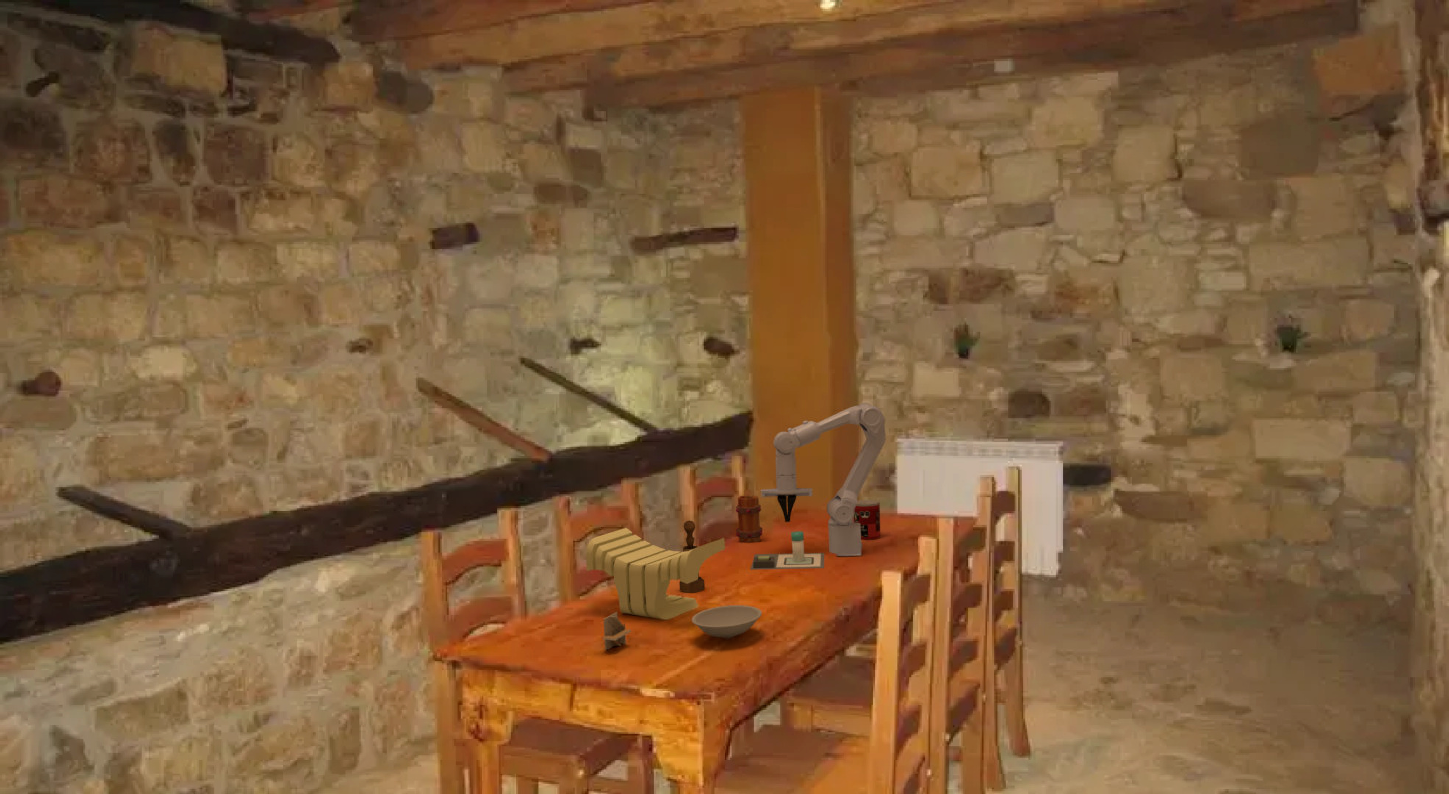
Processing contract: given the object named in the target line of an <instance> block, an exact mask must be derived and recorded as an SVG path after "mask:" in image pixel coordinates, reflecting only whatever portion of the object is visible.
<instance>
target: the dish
mask: <svg viewBox="0 0 1449 794" xmlns="http://www.w3.org/2000/svg"><path fill="white" fill-rule="evenodd" d="M762 615H763V612H762V610H761V609H760V608H759V607H758V608H757V607H755V606H750V605H744V604H743V605H742V604H741V605H739V604H735V605H733V604H732V605H722V606H717V607H711V608H707V609H704V610H702V611H700V612H698V613H696V614H694V615H693V616H692V618H691V622H692V624H694V625H695V626H697V627H698V628H699V629H700V630H701V631H702V632H703V633H705V634H707V635H709V636H710V637H711V636H712V637H714V638H715V637H716V638H724V639H732V638H733V637H736V636H739V635H741V634H744V633H745V632H747V631H748V630H750V629H751V628H752V627H753V626H754V625H755V623H756V622H757V620H759V619H760V618H761V616H762Z"/></svg>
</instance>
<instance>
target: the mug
mask: <svg viewBox="0 0 1449 794" xmlns="http://www.w3.org/2000/svg"><path fill="white" fill-rule="evenodd" d="M735 508H736V509H735V512H736V513H737V518H738V519H737V520H738V528H736V530H735V531H736V533H735V536H737V537H738V540H739V541H738V542H740V543H741V544H743V543H747V544H748V543H759V542H760V540H761V537H762V535H763V527H761V526H760V525H761V524H760V512H761V511H762V507H761V504H760V503H759V496H757V495H754V494H753V495H752V491H751V489H745V490H744V491H743V495H739V497H737V505H736V507H735Z"/></svg>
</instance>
